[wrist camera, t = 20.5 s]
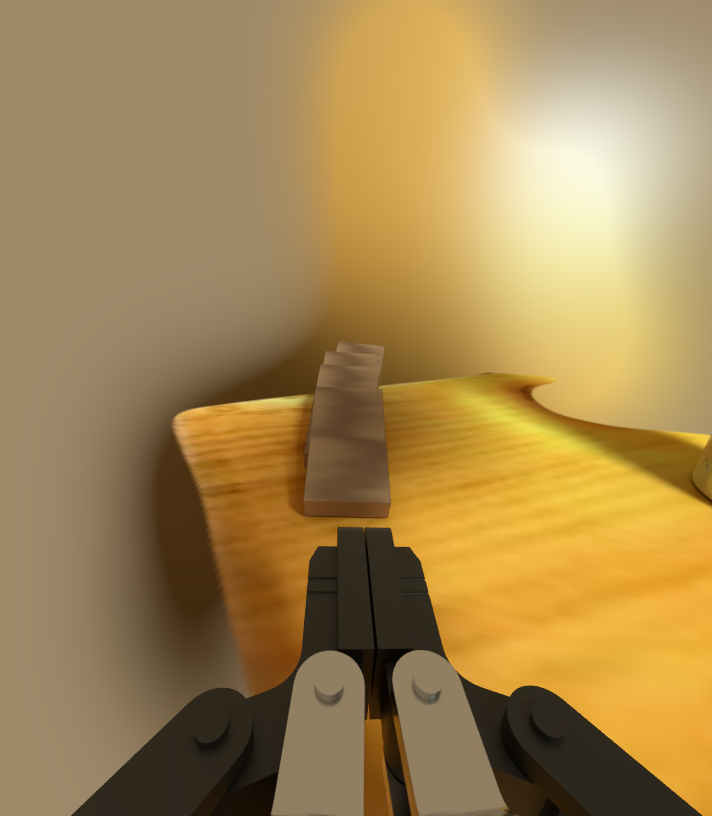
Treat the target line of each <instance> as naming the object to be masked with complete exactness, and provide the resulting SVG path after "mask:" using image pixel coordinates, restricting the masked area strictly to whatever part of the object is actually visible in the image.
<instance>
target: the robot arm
mask: <svg viewBox="0 0 712 816" xmlns="http://www.w3.org/2000/svg"><path fill="white" fill-rule="evenodd" d="M692 479H693V481H694V483H695V485H696V486H697V487H698V489H699V490H700V491H701V492H702V493H703V494H705V495H706V496H707V497H708V498H710V499H711V500H712V434H711V436H710V438H709V440H708V442H707V444H706V446H705V449H704V451H703V453H702V455H701V457H700V459H699V461H698V464H697V466H696V468H695V470H694V472H693V475H692ZM368 704H369V715H370V719H381V726H382V737H383V747H382V755H381V762H382V771H383V778H384V784H385V791H386V798H387V805H388V812H389V816H702V815H701V814H700V813H699V812H697V811H696V810H695V809H694V808H693V807H691V806H690V805H689V804H688V803H687V802H685V801H684V800H683V799H682V798H681V797H679V796H678V795H677V794H676V793H675V792H673V791H672V790H671V789H670V788H669V787H667V786H666V785H665V784H664V783H663V782H661V781H660V780H659V779H658V778H657V777H655V776H654V775H653V774H652V773H651V772H649V771H648V770H647V769H646V768H644V767H643V766H642V765H641V764H640V763H638V762H637V761H636V760H635V759H634V758H632V757H631V756H630V755H629V754H628V753H626V752H625V751H624V750H623V749H622V748H620V747H619V746H618V745H617V744H616V743H614V742H613V741H612V740H611V739H610V738H608V737H607V736H606V735H605V734H604V733H602V732H601V731H600V730H599V729H598V728H596V727H595V726H594V725H593V724H592V723H590V722H589V721H588V720H587V719H586V718H584V717H583V716H582V715H581V714H580V713H578V712H577V711H576V710H575V709H574V708H572V707H571V706H570V705H569V704H568V703H566V702H565V701H564V700H563V699H561V698H560V697H559V696H557V695H556V694H554V693H553V692H551V691H549V690H547V689H544V688H541V687H538V686H523V687H520V688H518V689H516V690H515V691H514V692H513V693H512V694H511V696H510V697H509V696H506V695H503V694H500V693H497V692H494V691H491V690H488V689H485V688H482V687H479V686H477V685H474V684H473V683H471V682H469V681H468V680H466V679H465V678H463V677H462V676H461V675H460V674H459V673H458V672H457V671H456V670H455V669H454V668H453V667H452V665H451V664H450V662H449V661H448V659H447V657H446V655H445V653H444V650H443V646H442V642H441V638H440V635H439V631H438V627H437V623H436V619H435V615H434V612H433V608H432V604H431V600H430V596H429V595H428V589H427V585H426V581H425V577H424V573H423V570H422V566H421V562H420V560H419V559H418V558H417V556H416V555H415V554H414V553H413V551H412V550H411V549H410V547H394V542H393V537H392V532H391V529H390V528H370V527H365V528H364V530H363V528H361V527H338V529H337V546H318V548H317V549H316V551H315V553H314V554H313V556H312V557H311V559H310V561H309V573H308V585H307V596H306V608H305V620H304V632H303V643H302V652H301V657H300V660H299V663H298V665H297V667H296V668H295V670H294V671H293V673H292V674H291V675H290V676H289V677H288V678H287V679H286V680H285V681H284V682H283V683H282V684H280V685H278V686H277V687H275V688H273V689H271V690H268V691H266V692H263V693H260V694H258V695H255V696H252V697H250V698H247V699H246V698H245V697H244V696H243V695H242V694H240V693H239V692H238V691H235V690H233V689H229V688H216V689H212V690H209V691H206V692H204V693H202V694H200V695H199V696H197V697H196V698H194V699H193V700H192V701H191V702H189V703H188V704H187V705H186V706H185V707H184V708H183V709H182V710H181V711H180V712H179V713H178V714H177V715H176V716H175V717H174V718H173V719H172V720H171V721H169V722H168V723H167V725H165V726H164V727H163V728H162V729H161V730H160V731H159V732H158V733H157V734H156V735H155V736H154V737H153V738H152V739H151V740H150V741H149V742H148V743H147V744H146V745H144V746H143V747H142V748H141V749H140V750H139V751H138V752H137V753H136V754H135V755H134V756H133V757H132V758H131V759H130V760H129V761H128V762H127V763H126V764H125V765H124V766H122V767H121V768H120V769H119V770H118V772H116V773H115V774H114V775H113V776H112V777H111V778H110V779H109V780H108V781H107V782H106V783H105V784H104V785H103V786H102V787H101V788H100V789H99V790H97V791H96V792H95V793H94V794H93V795H92V796H91V797H90V798H89V799H88V800H87V801H86V802H85V803H84V804H83V805H82V806H81V807H80V808H79V809H78V810H77V811H76V812H74V814H72V815H71V816H364V724H365V720H367V713H368Z"/></svg>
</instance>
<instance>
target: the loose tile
mask: <svg viewBox="0 0 712 816" xmlns="http://www.w3.org/2000/svg"><path fill="white" fill-rule="evenodd" d="M390 505H391V498H390V485H389V473H388V460H387V448H386V435H385V422H384V410H383V397H382V389H368V388H343V387H317V386H316V391H315V400H314V409H313V418H312V427H311V436H310V446H309V455H308V464H307V473H306V482H305V491H304V515H305V516H343V517H382V518H388V514H389V509H390Z"/></svg>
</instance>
